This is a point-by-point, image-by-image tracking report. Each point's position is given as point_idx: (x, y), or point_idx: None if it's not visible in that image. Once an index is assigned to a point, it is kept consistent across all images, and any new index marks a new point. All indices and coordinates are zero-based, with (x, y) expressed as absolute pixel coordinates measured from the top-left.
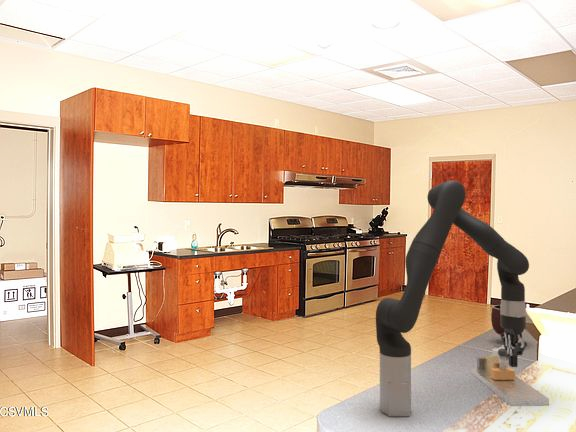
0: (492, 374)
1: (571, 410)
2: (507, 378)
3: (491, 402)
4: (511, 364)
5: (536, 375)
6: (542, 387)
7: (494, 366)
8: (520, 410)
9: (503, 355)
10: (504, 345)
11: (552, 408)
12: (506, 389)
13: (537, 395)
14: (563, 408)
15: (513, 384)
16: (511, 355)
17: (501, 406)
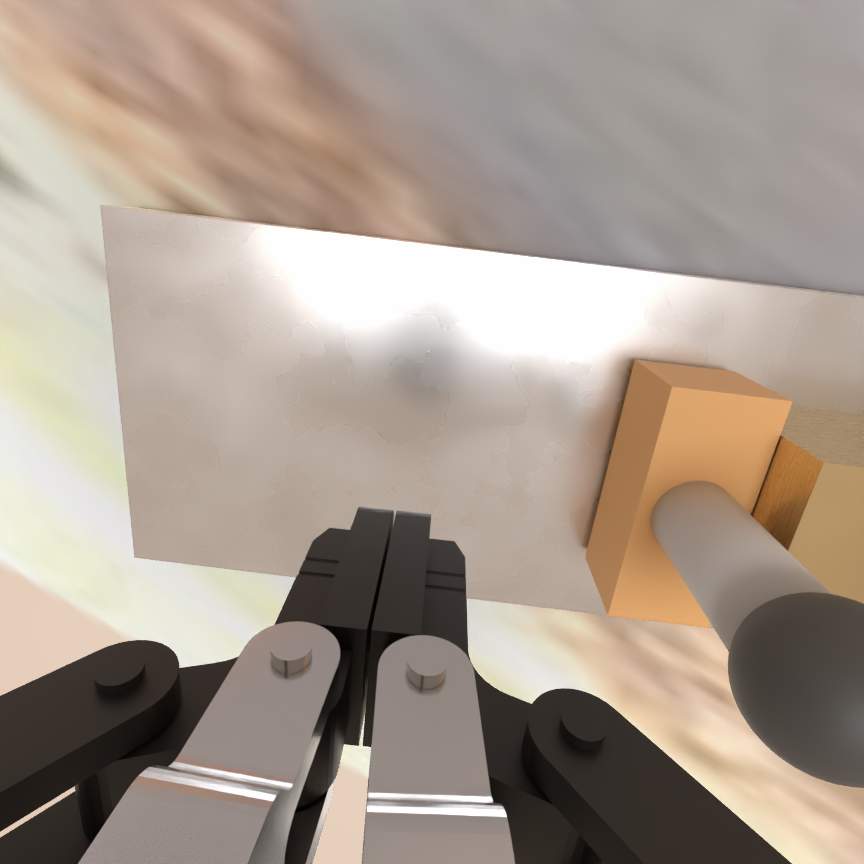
0: (706, 376)
1: (78, 607)
2: (604, 496)
3: (212, 48)
4: (351, 527)
5: (741, 794)
6: (505, 692)
7: (786, 459)
8: (33, 237)
9: (741, 638)
10: (676, 821)
11: (103, 514)
12: (364, 329)
13: (202, 515)
14: (109, 582)
15: (487, 478)
16: (272, 629)
17: (112, 101)
